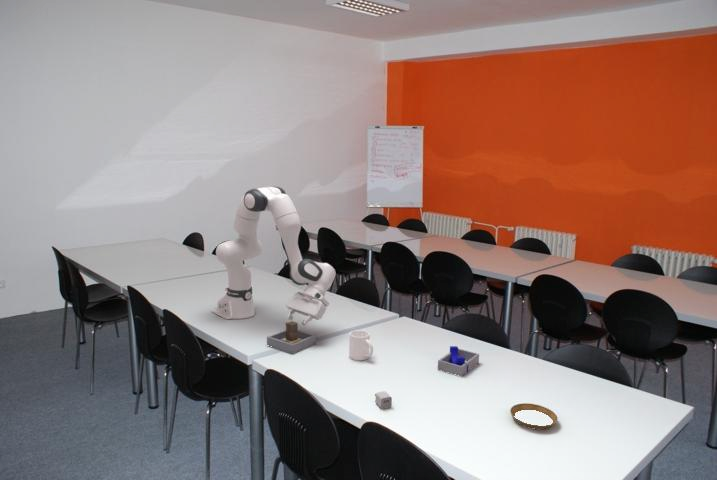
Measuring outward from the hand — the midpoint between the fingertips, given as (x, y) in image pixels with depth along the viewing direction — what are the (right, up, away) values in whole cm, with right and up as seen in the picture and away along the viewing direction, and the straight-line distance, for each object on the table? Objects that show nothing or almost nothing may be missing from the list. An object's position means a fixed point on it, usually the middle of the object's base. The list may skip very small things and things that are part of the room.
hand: (296, 321), depth 235 cm
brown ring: (+85, -24, -59) cm, 106 cm away
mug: (+29, -13, -13) cm, 34 cm away
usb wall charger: (+35, -21, -50) cm, 65 cm away
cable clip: (+68, -15, -18) cm, 72 cm away
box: (-2, -10, 0) cm, 10 cm away
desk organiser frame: (+68, -15, -18) cm, 72 cm away
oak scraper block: (-2, -9, -1) cm, 9 cm away
